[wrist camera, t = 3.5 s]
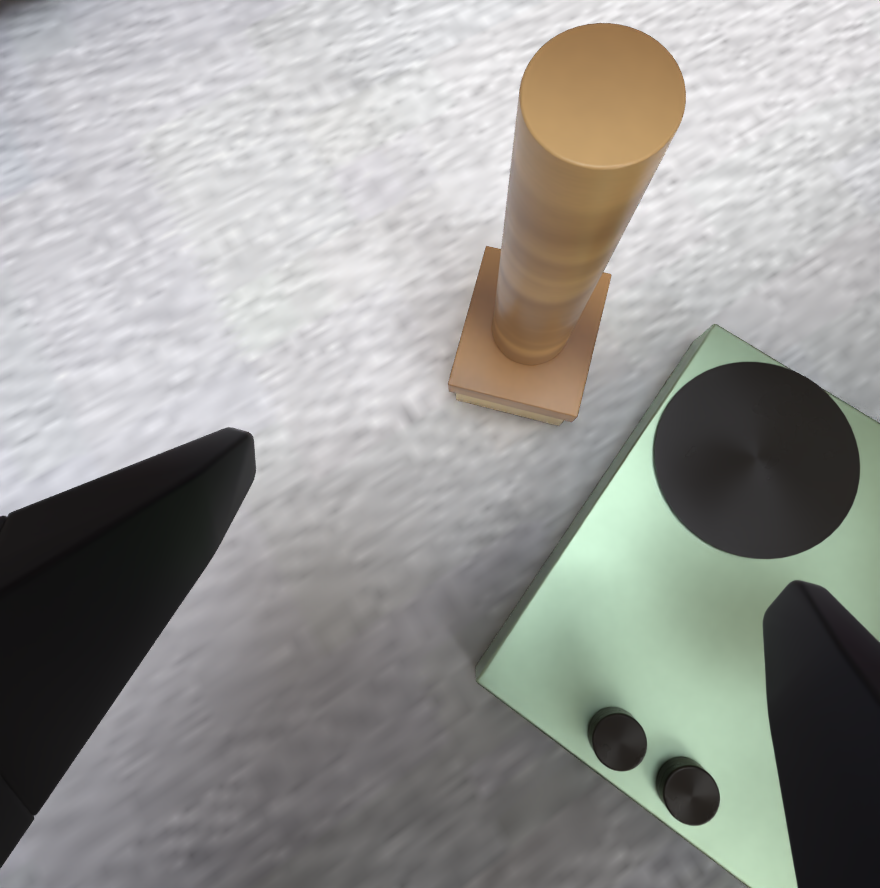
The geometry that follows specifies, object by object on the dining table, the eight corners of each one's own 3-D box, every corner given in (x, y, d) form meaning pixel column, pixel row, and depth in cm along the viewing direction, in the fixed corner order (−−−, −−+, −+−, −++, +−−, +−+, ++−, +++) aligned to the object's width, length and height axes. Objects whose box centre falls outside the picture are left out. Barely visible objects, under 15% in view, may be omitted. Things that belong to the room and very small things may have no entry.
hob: (959, 1031, 19) (1045, 1119, 16) (474, 667, 21) (475, 688, 18) (1170, 633, 20) (1281, 649, 17) (693, 340, 23) (724, 313, 20)
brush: (563, 432, 23) (713, 276, 9) (450, 403, 23) (421, 210, 9) (593, 306, 23) (776, -21, 9) (484, 280, 24) (504, -68, 10)
